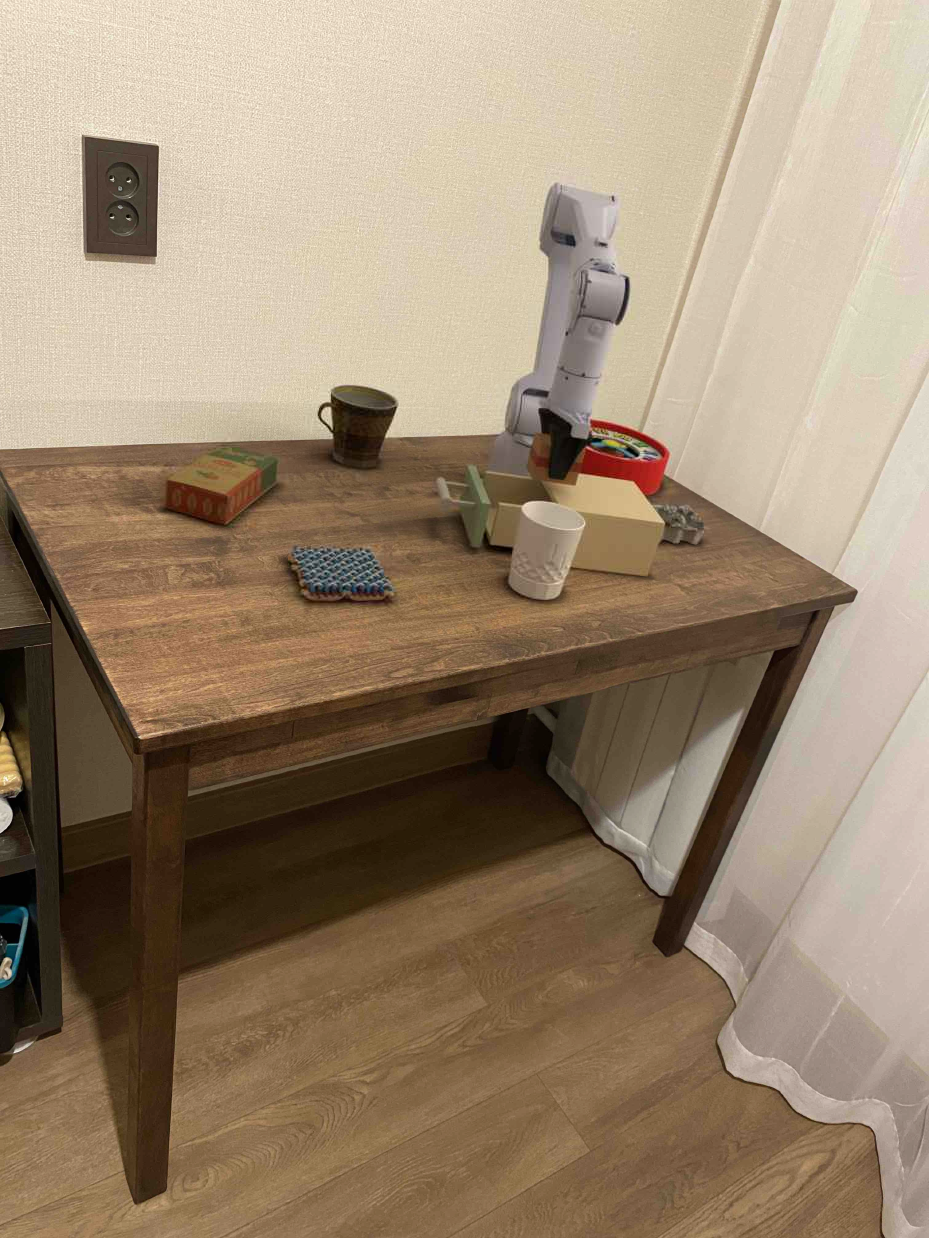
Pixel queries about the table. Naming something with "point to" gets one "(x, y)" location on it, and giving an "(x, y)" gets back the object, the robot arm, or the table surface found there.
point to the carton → (221, 483)
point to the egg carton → (680, 523)
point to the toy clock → (625, 456)
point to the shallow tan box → (611, 524)
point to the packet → (540, 461)
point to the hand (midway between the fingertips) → (552, 471)
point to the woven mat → (340, 574)
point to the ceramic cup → (359, 423)
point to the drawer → (492, 503)
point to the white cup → (544, 549)
